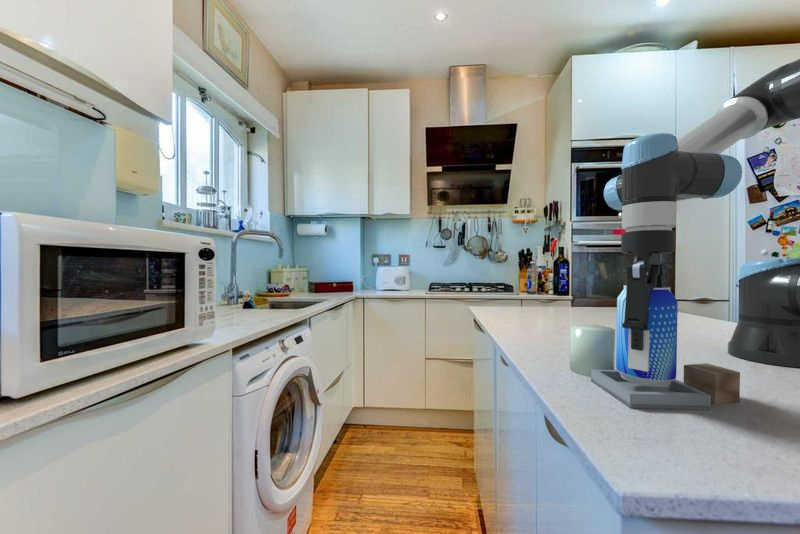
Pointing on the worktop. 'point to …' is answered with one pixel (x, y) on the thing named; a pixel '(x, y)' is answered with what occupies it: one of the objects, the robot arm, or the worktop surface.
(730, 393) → the walnut block
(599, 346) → the pale green cylinder
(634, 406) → the slate tray
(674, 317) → the beer can
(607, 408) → the worktop surface
